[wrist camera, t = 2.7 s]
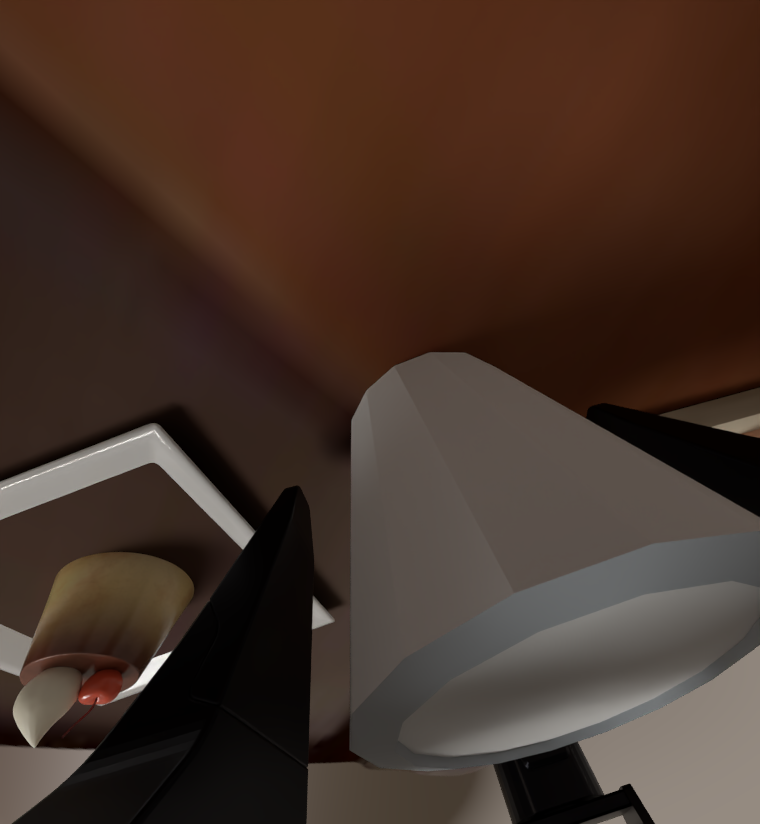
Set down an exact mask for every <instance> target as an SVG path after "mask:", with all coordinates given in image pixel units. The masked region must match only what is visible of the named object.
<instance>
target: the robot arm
mask: <svg viewBox="0 0 760 824" xmlns="http://www.w3.org/2000/svg"><path fill="white" fill-rule="evenodd" d="M586 419H588V420H589V421H591V422H593V423H595V424H596V425H598V426H600V427H602V428H603V429H605V430H607V431H609V432H610V433H612V434H614V435H616V436H617V437H619V438H621V439H623V440H625V441H626V442H628V443H630V444H632V445H633V446H635V447H637V448H639V449H640V450H642V451H644V452H646V453H647V454H649V455H651V456H653V457H654V458H656V459H658V460H660V461H661V462H663V463H665V464H667V465H668V466H670V467H672V468H674V469H676V470H677V471H679V472H681V473H683V474H684V475H686V476H688V477H690V478H691V479H693V480H695V481H697V482H698V483H700V484H702V485H704V486H705V487H707V488H709V489H711V490H712V491H714V492H716V493H718V494H719V495H721V496H723V497H725V498H727V499H728V500H730V501H732V502H734V503H735V504H737V505H739V506H741V507H742V508H744V509H746V510H748V511H749V512H751V513H753V514H755V515H756V516H758V517H760V438H757V437H753V436H748V435H744V434H739V433H735V432H731V431H726V430H722V429H717V428H713V427H708V426H704V425H700V424H695V423H691V422H686V421H682V420H677V419H673V418H669V417H664V416H660V415H655V414H651V413H647V412H642V411H638V410H633V409H629V408H624V407H620V406H616V405H611V404H607V403H601V404H597V405H594V406H591V407H590V408H589V409H588V411H587V416H586ZM313 583H314V553H313V541H312V530H311V518H310V509H309V505H308V503H307V501H306V498H305V496H304V494H303V492H302V490H301V488H300V487H299V486H293V487H289V488H286V489H284V491H283V492H282V493H281V495H280V496H279V498H278V499H277V501H276V502H275V504H274V505H273V507H272V508H271V509H270V511H269V512H268V514H267V515H266V517H265V518H264V520H263V521H262V523H261V524H260V526H259V527H258V529H257V530H256V532H255V533H254V534H253V536H252V537H251V539H250V540H249V542H248V543H247V545H246V546H245V548H244V549H243V551H242V552H241V554H240V555H239V556H238V558H237V559H236V561H235V562H234V564H233V565H232V567H231V568H230V570H229V571H228V573H227V574H226V576H225V577H224V579H223V580H222V581H221V583H220V584H219V586H218V587H217V589H216V590H215V592H214V593H213V595H212V596H211V598H210V601H208V602H207V603H206V605H205V606H204V608H203V609H202V611H201V612H200V614H199V615H198V617H197V618H196V619H195V621H194V622H193V624H192V625H191V626H190V628H189V629H188V631H187V632H186V633H185V635H184V636H183V638H182V639H181V641H180V642H179V643H178V645H177V646H176V647H175V649H174V650H173V651H172V652H171V654H170V655H169V656H168V658H167V659H166V660H165V662H164V663H163V664H162V666H161V667H160V668H159V670H158V671H157V672H156V673H155V675H154V676H153V677H152V679H151V680H150V681H149V682H148V684H147V685H146V686H145V687H144V689H143V690H142V691H141V693H140V694H139V695H138V696H137V698H136V699H135V700H134V702H133V703H132V704H131V705H130V707H129V708H128V709H127V710H126V712H125V713H124V714H123V716H122V717H121V718H120V719H119V721H118V722H117V723H116V725H115V726H114V727H113V728H112V730H111V731H110V732H109V733H108V735H107V736H106V737H105V739H104V740H103V741H102V742H101V743H100V745H99V746H98V747H97V748H96V749H95V751H94V752H93V753H92V754H91V755H90V756H89V758H88V759H87V760H86V761H85V762H84V763H83V764H82V765H81V766H80V767H79V768H78V769H77V770H76V771H75V772H74V773H73V774H72V775H71V776H70V777H69V778H68V779H67V780H66V781H65V782H63V783H62V784H61V785H60V786H59V787H58V788H57V789H55V790H54V791H53V792H52V793H51V794H50V795H48V796H47V797H46V798H44V799H43V800H42V801H40V802H39V803H38V804H37V805H35V806H34V807H33V808H31V809H30V810H29V811H28V812H26V813H25V814H24V815H22V816H21V817H20V818H18V819H17V820H16V821H15V822H13V823H12V824H306V819H307V786H308V785H307V783H308V769H307V767H308V748H309V715H310V682H311V649H312V616H313ZM493 765H494V768H495V772H496V774H497V777H498V781H499V784H500V787H501V790H502V793H503V796H504V799H505V802H506V805H507V808H508V812H509V815H510V817H511V821H512V824H597V823H600V822H603V821H606V820H609V819H612V818H615V817H618V816H621V815H623V817H624V819H625V821H626V823H627V824H655V823H654V822H653V820H652V818H651V817H650V815H649V813H648V812H647V810H646V809H645V807H644V805H643V804H642V802H641V800H640V799H639V797H638V796H637V794H636V792H635V791H634V789H633V787H632V786H631V784H627V785H624V786H621V787H620V789H619V790H618V791H615V792H612V793H609V794H606V795H604V793H603V791H602V789H601V787H600V785H599V783H598V782H597V779H596V777H595V775H594V773H593V771H592V769H591V767H590V766H589V763H588V761H587V759H586V757H585V756H584V753H583V751H582V749H581V747H580V746H579V744H578V742H575V743H572V744H569V745H566V746H563V747H560V748H557V749H555V750H552V751H548V752H544V753H539V754H535V755H531V756H527V757H523V758H519V759H515V760H511V761H507V762H503V763H498V764H493Z"/></svg>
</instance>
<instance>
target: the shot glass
mask: <svg viewBox="0 0 760 824" xmlns="http://www.w3.org/2000/svg"><path fill="white" fill-rule="evenodd" d="M759 645H760V517H758V516H756V515H755V514H753V513H751V512H749V511H748V510H746V509H744V508H742V507H741V506H739V505H737V504H735V503H734V502H732V501H730V500H728V499H727V498H725V497H723V496H721V495H719V494H718V493H716V492H714V491H712V490H711V489H709V488H707V487H705V486H704V485H702V484H700V483H698V482H697V481H695V480H693V479H691V478H690V477H688V476H686V475H684V474H683V473H681V472H679V471H677V470H676V469H674V468H672V467H670V466H668V465H667V464H665V463H663V462H661V461H660V460H658V459H656V458H654V457H653V456H651V455H649V454H647V453H646V452H644V451H642V450H640V449H639V448H637V447H635V446H633V445H632V444H630V443H628V442H626V441H625V440H623V439H621V438H619V437H617V436H616V435H614V434H612V433H610V432H609V431H607V430H605V429H603V428H602V427H600V426H598V425H596V424H595V423H593V422H591V421H589V420H588V419H586V418H584V417H582V416H581V415H579V414H577V413H575V412H574V411H572V410H570V409H568V408H566V407H565V406H563V405H561V404H559V403H558V402H556V401H554V400H552V399H551V398H549V397H547V396H545V395H544V394H542V393H540V392H538V391H537V390H535V389H533V388H531V387H530V386H528V385H526V384H524V383H523V382H521V381H519V380H517V379H515V378H514V377H512V376H510V375H508V374H507V373H505V372H503V371H501V370H500V369H498V368H496V367H494V366H492V365H490V364H488V363H486V362H484V361H482V360H480V359H478V358H476V357H474V356H471V355H469V354H467V353H460V352H429V353H426V354H424V355H421V356H419V357H416V358H413V359H411V360H408V361H406V362H403V363H400V364H398V365H395V366H393V367H392V368H391V369H390V370H389V371H388V372H387V373H386V374H384V375H383V376H382V377H381V378H380V379H379V380H378V381H376V382H375V383H374V384H373V385H372V386H371V387H370V388H368V389H367V390H366V392H365V394H364V396H363V398H362V400H361V402H360V404H359V406H358V408H357V410H356V412H355V414H354V416H353V418H352V422H351V546H350V751H352V752H354V753H355V754H357V755H359V756H361V757H362V758H364V759H366V760H367V761H369V762H371V763H373V764H374V765H376V766H378V767H379V768H391V769H405V770H419V771H435V770H449V769H458V768H466V767H474V766H482V765H490V764H498V763H503V762H507V761H511V760H515V759H519V758H523V757H527V756H531V755H535V754H539V753H544V752H548V751H552V750H555V749H557V748H560V747H563V746H566V745H569V744H572V743H575V742H578V741H581V740H583V739H587V738H590V737H593V736H595V735H598V734H601V733H604V732H607V731H609V730H611V729H614V728H616V727H618V726H621V725H623V724H625V723H627V722H630V721H632V720H634V719H637V718H639V717H641V716H643V715H646V714H648V713H651V712H653V711H655V710H657V709H660V708H662V707H663V706H665V705H667V704H669V703H671V702H673V701H674V700H676V699H678V698H680V697H682V696H684V695H685V694H687V693H689V692H691V691H693V690H694V689H696V688H698V687H700V686H702V685H704V684H705V683H707V682H709V681H711V680H712V679H714V678H715V677H716V676H718V675H719V674H721V673H722V672H723V671H725V670H726V669H727V668H729V667H730V666H732V665H733V664H734V663H736V662H737V661H738V660H740V659H741V658H743V657H744V656H745V655H747V654H748V653H749V652H751V651H752V650H754V649H755V648H756V647H757V646H759Z"/></svg>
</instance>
